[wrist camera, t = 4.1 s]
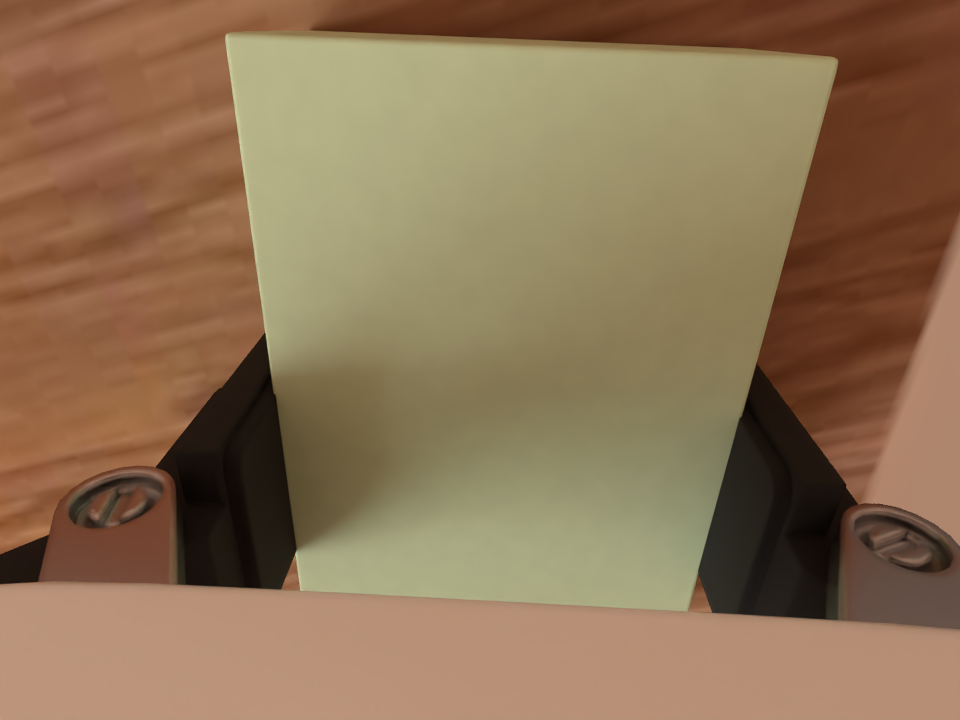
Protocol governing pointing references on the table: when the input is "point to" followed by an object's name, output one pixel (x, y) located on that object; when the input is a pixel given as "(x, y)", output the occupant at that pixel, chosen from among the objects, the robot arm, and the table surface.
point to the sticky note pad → (515, 299)
